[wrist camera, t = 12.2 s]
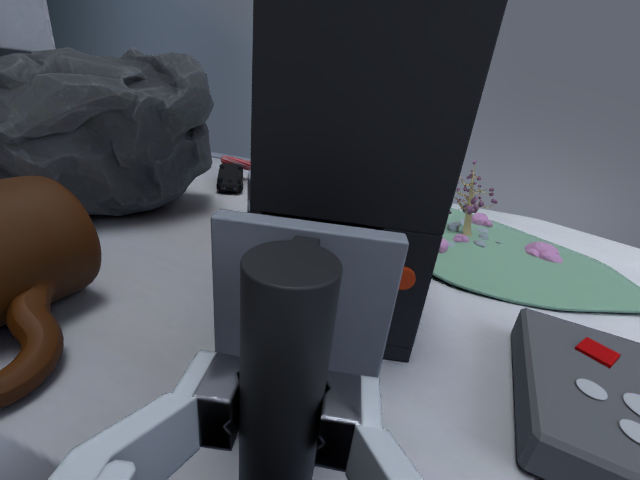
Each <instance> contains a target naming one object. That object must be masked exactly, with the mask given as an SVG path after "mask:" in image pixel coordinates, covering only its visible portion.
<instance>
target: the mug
mask: <svg viewBox="0 0 640 480" xmlns="http://www.w3.org/2000/svg"><path fill="white" fill-rule="evenodd" d="M100 266H101V247H100V242H99V238H98V235H97V232H96V229H95V226H94V224H93V222H92V220H91V218H90V216H89V215H88V213H87V211H86V210H85V208H84V207H83V205H82V204H81V203H80V201H79V200H78V199H77V198H76V197H75V196H74V195H73V194H72V193H71V192H70V191H69V190H68V189H67V188H66V187H64V186H63V185H62V184H60V183H58V182H57V181H55V180H53V179H50V178H47V177H43V176H19V177H11V178H4V179H0V327H1V326H4V325H6V324H7V326H8V328H9V330H10V332H11V334H12V335H13V336H14V338H15V339H16V340H17V341H18V342H19V343H20V345H21V350H20V352H19V354H18V356H17V357H16V358H15V359H14V360H13V361H12V362H11V363H10V364H8V365H7V366H6V367H5V368H3V369H2V370H0V408H3V407H6V406H9V405H11V404H12V403H14V402H16V401H18V400H20V399H22V398H24V397H25V396H27V395H29V394H30V393H31V392H32V391H34V390H35V389H36V388H37V387H39V386H40V385H41V384H42V383H43V382H44V381H45V380H46V379H47V377H48V376H49V375H50V374H51V373H52V372H53V370H54V368H55V366H56V365H57V363H58V361H59V359H60V358H61V354H62V351H63V334H62V331H61V328H60V326H59V324H58V322H57V320H56V319H55V318H54V316H53V315H52V313H51V312H50V305H51V303H53V302H55V301H57V300H59V299H62V298H64V297H66V296H68V295H71V294H73V293H75V292H77V291H79V290H81V289H83V288H84V287H86V286H87V285H89V284H90V283H91V282H92V281H93V280H94V279H95V277H96V276H97V275H98V272H99V270H100Z"/></svg>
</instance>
